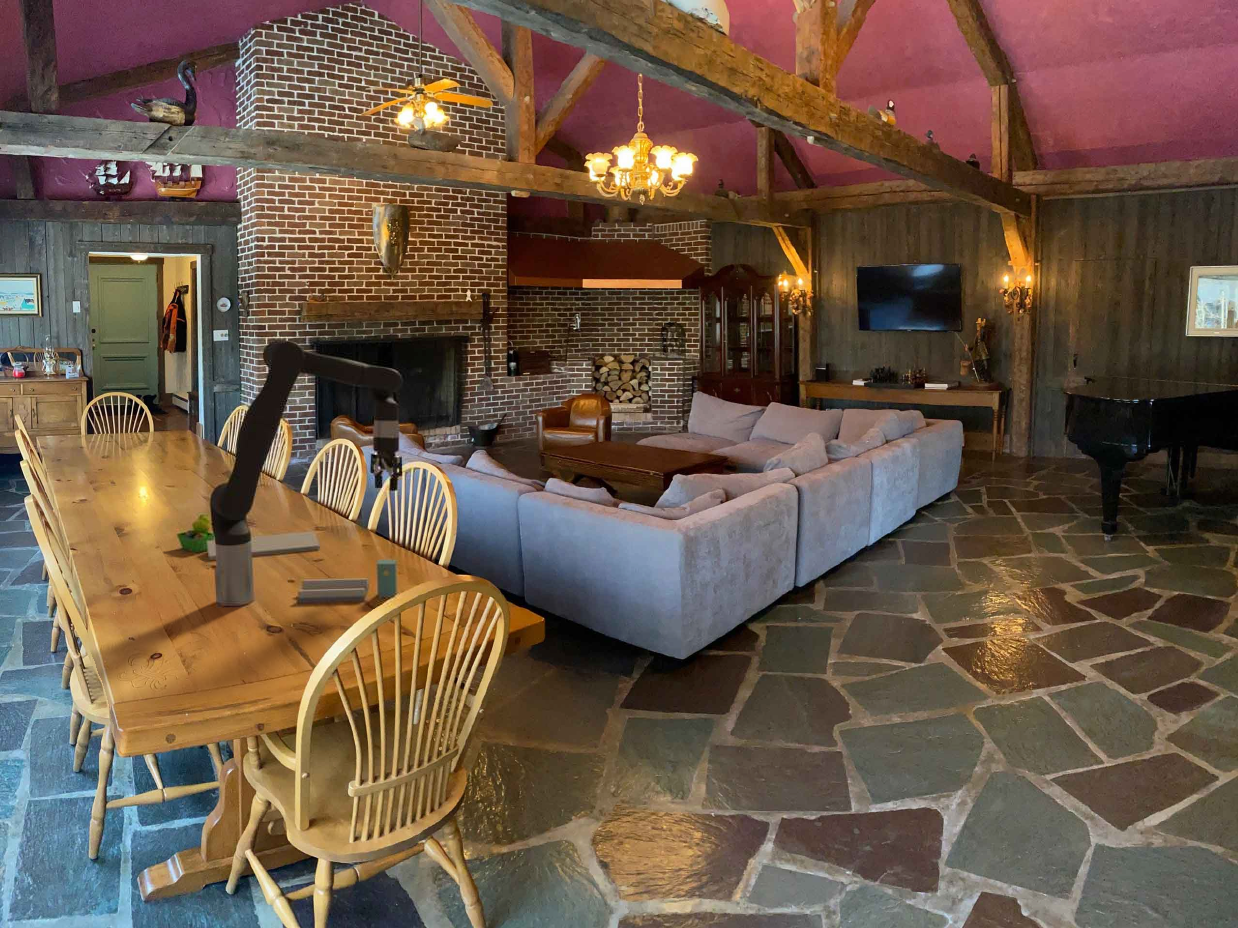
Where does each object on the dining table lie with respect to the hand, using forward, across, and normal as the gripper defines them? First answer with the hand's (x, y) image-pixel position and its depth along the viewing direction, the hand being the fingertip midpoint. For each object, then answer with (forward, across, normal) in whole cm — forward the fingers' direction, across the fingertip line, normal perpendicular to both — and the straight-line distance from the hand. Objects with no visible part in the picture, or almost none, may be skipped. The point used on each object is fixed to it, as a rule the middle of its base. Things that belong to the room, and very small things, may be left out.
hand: (386, 489), depth 283 cm
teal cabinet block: (+29, +14, -8) cm, 33 cm away
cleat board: (+29, +4, -19) cm, 35 cm away
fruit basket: (+25, -71, -29) cm, 80 cm away
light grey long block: (+26, -53, -14) cm, 61 cm away
